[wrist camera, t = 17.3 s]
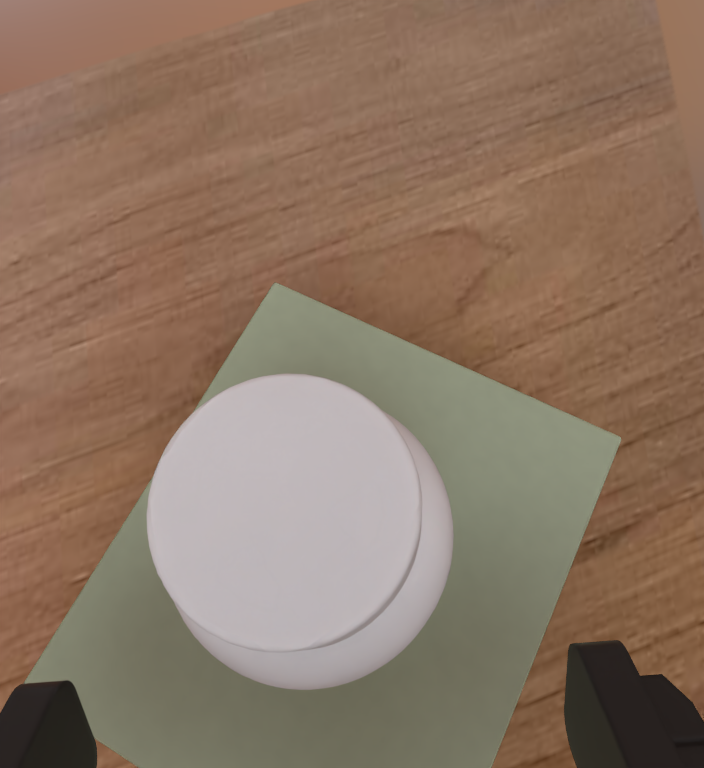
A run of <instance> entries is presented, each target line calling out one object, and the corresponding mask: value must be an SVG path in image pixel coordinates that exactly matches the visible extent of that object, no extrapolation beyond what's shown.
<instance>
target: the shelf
mask: <svg viewBox="0 0 704 768" xmlns="http://www.w3.org/2000/svg"><path fill="white" fill-rule="evenodd" d="M275 374H307V375H313V376H318V377H323V378H327V379H330V380H333V381H336V382H338V383H341V384H343V385H345V386H348V387H350V388H351V389H353V390H355V391H357V392H359V393H361V394H362V395H363V396H365V397H366V398H368V399H369V400H371V401H372V402H373V403H374V404H376V405H377V406H378V407H379V408H380V409H381V410H382V411H384V412H386V413H387V414H389V415H390V416H392V417H393V418H395V419H396V420H397V421H399V422H400V423H401V424H402V425H404V426H405V427H406V428H407V429H408V430H409V431H410V432H411V433H412V434H413V435H414V436H415V437H416V438H417V439H418V441H419V442H420V443H421V444H422V446H423V447H424V448H425V449H426V451H427V452H428V454H429V456H430V457H431V459H432V460H433V462H434V464H435V465H436V467H437V469H438V471H439V473H440V475H441V478H442V480H443V482H444V485H445V488H446V491H447V495H448V498H449V502H450V507H451V513H452V519H453V533H454V537H453V552H452V561H451V567H450V572H449V575H448V578H447V581H446V585H445V588H444V590H443V593H442V595H441V597H440V599H439V602H438V604H437V606H436V608H435V610H434V611H433V613H432V614H431V616H430V618H429V619H428V621H427V622H426V624H425V625H424V627H423V628H422V629H421V631H420V632H419V633H418V635H417V636H416V637H415V638H414V639H413V640H412V642H411V643H410V644H409V645H408V646H407V647H406V648H405V649H404V650H403V651H402V652H401V653H399V654H398V655H397V656H396V657H395V658H393V659H392V660H391V661H389V662H388V663H387V664H385V665H383V666H382V667H380V668H379V669H377V670H375V671H373V672H372V673H370V674H368V675H366V676H364V677H362V678H359V679H357V680H355V681H352V682H349V683H346V684H342V685H339V686H335V687H330V688H323V689H315V690H294V689H283V688H278V687H274V686H269V685H266V684H262V683H259V682H257V681H254V680H252V679H250V678H247V677H245V676H242V675H240V674H239V673H237V672H235V671H233V670H232V669H230V668H229V667H227V666H226V665H225V664H223V663H222V662H220V661H219V660H218V659H216V658H215V657H214V656H213V655H212V654H210V652H209V651H208V650H206V649H205V648H204V647H203V646H202V645H201V643H200V642H199V641H198V640H197V639H196V638H195V637H194V635H193V634H192V632H191V631H190V630H189V628H188V627H187V625H186V624H185V622H184V621H183V619H182V617H181V615H180V613H179V611H178V610H177V608H176V606H175V603H174V601H173V600H172V598H171V597H170V595H169V593H168V592H167V590H166V589H165V587H164V586H163V583H162V580H161V579H160V577H159V576H158V574H157V570H156V567H155V565H154V562H153V559H152V555H151V552H150V548H149V542H148V534H147V516H146V514H147V506H148V496H149V492H150V487H151V483H152V480H153V477H152V479H151V480H150V482H149V484H148V485H147V487H146V488H145V490H144V492H143V493H142V495H141V496H140V498H139V500H138V501H137V503H136V504H135V506H134V508H133V509H132V511H131V512H130V514H129V516H128V517H127V519H126V520H125V522H124V524H123V525H122V527H121V528H120V530H119V532H118V533H117V535H116V536H115V538H114V540H113V541H112V543H111V544H110V546H109V548H108V549H107V551H106V552H105V554H104V556H103V557H102V559H101V560H100V562H99V564H98V565H97V567H96V568H95V570H94V572H93V573H92V575H91V576H90V578H89V580H88V581H87V583H86V584H85V586H84V588H83V589H82V591H81V592H80V594H79V596H78V597H77V599H76V600H75V602H74V604H73V605H72V607H71V608H70V610H69V612H68V613H67V615H66V616H65V618H64V620H63V621H62V623H61V624H60V626H59V628H58V629H57V631H56V632H55V634H54V636H53V637H52V639H51V640H50V642H49V644H48V645H47V647H46V648H45V650H44V652H43V653H42V655H41V656H40V658H39V660H38V661H37V663H36V664H35V666H34V668H33V669H32V671H31V672H30V674H29V676H28V677H27V679H26V680H25V682H24V684H26V683H39V682H52V681H65V680H68V681H71V682H72V683H73V684H74V686H75V688H76V691H77V694H78V696H79V699H80V702H81V704H82V707H83V710H84V712H85V715H86V718H87V720H88V723H89V726H90V728H91V731H92V734H93V736H94V738H95V739H96V740H98V741H99V742H101V743H102V744H104V745H105V746H107V747H108V748H110V749H111V750H113V751H114V752H116V753H117V754H119V755H120V756H122V757H123V758H125V759H127V760H128V761H130V762H131V763H133V764H134V765H136V766H137V767H139V768H491V767H492V765H493V762H494V760H495V757H496V755H497V752H498V750H499V747H500V745H501V742H502V740H503V737H504V735H505V732H506V730H507V727H508V725H509V722H510V720H511V717H512V714H513V712H514V709H515V707H516V704H517V702H518V699H519V697H520V694H521V692H522V689H523V687H524V684H525V682H526V679H527V677H528V674H529V672H530V669H531V666H532V664H533V661H534V659H535V656H536V654H537V651H538V649H539V646H540V644H541V641H542V639H543V636H544V634H545V631H546V629H547V626H548V624H549V621H550V618H551V616H552V613H553V611H554V608H555V606H556V603H557V601H558V598H559V596H560V593H561V591H562V588H563V586H564V583H565V581H566V578H567V576H568V573H569V570H570V568H571V565H572V563H573V560H574V558H575V555H576V553H577V550H578V548H579V545H580V543H581V540H582V538H583V535H584V533H585V530H586V528H587V525H588V523H589V520H590V517H591V515H592V512H593V510H594V507H595V505H596V502H597V500H598V497H599V495H600V492H601V490H602V487H603V485H604V482H605V480H606V477H607V475H608V472H609V469H610V467H611V464H612V462H613V459H614V457H615V454H616V452H617V449H618V447H619V444H620V442H621V437H619V436H617V435H615V434H613V433H610V432H608V431H606V430H604V429H601V428H599V427H597V426H595V425H593V424H590V423H588V422H586V421H584V420H581V419H579V418H577V417H575V416H572V415H570V414H568V413H566V412H564V411H561V410H559V409H557V408H555V407H552V406H550V405H548V404H546V403H544V402H541V401H539V400H537V399H535V398H532V397H530V396H528V395H526V394H523V393H521V392H519V391H517V390H515V389H512V388H510V387H508V386H506V385H503V384H501V383H499V382H497V381H494V380H492V379H490V378H488V377H486V376H483V375H481V374H479V373H477V372H474V371H472V370H470V369H468V368H465V367H463V366H461V365H459V364H457V363H454V362H452V361H450V360H448V359H445V358H443V357H441V356H439V355H436V354H434V353H432V352H430V351H428V350H425V349H423V348H421V347H419V346H416V345H414V344H412V343H410V342H407V341H405V340H403V339H401V338H399V337H396V336H394V335H392V334H390V333H387V332H385V331H383V330H381V329H378V328H376V327H374V326H372V325H370V324H367V323H365V322H363V321H361V320H358V319H356V318H354V317H352V316H350V315H347V314H345V313H343V312H341V311H338V310H336V309H334V308H332V307H329V306H327V305H325V304H323V303H321V302H318V301H316V300H314V299H312V298H309V297H307V296H305V295H303V294H300V293H298V292H296V291H294V290H292V289H289V288H287V287H285V286H283V285H280V284H278V283H274V284H273V285H272V287H271V288H270V290H269V292H268V293H267V295H266V296H265V298H264V300H263V301H262V303H261V304H260V306H259V308H258V309H257V311H256V312H255V314H254V316H253V317H252V319H251V320H250V322H249V324H248V325H247V327H246V328H245V330H244V332H243V333H242V335H241V336H240V338H239V340H238V341H237V343H236V344H235V346H234V348H233V349H232V351H231V352H230V354H229V356H228V357H227V359H226V360H225V362H224V364H223V365H222V367H221V368H220V370H219V372H218V373H217V375H216V376H215V378H214V380H213V381H212V383H211V384H210V386H209V388H208V389H207V391H206V392H205V394H204V396H203V397H202V399H201V400H200V402H199V404H198V405H197V407H196V408H195V410H196V409H198V408H199V407H200V406H202V405H203V404H204V403H205V402H207V401H208V400H210V399H211V398H212V397H214V396H215V395H217V394H219V393H220V392H222V391H224V390H226V389H228V388H230V387H232V386H235V385H237V384H240V383H242V382H245V381H247V380H250V379H253V378H258V377H262V376H268V375H275ZM195 410H194V411H195Z"/></svg>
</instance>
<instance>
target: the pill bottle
mask: <svg viewBox="0 0 704 768" xmlns="http://www.w3.org/2000/svg"><path fill="white" fill-rule="evenodd" d="M146 516H147V534H148V542H149V548H150V552H151V555H152V559H153V562H154V565H155V567H156V570H157V574H158V576H159V577H160V579H161V580H162V583H163V586H164V587H165V589H166V590H167V592H168V593H169V595H170V597H171V598H172V600H173V601H174V603H175V606H176V608H177V610H178V611H179V613H180V615H181V617H182V619H183V621H184V622H185V624H186V625H187V627H188V628H189V630H190V631H191V632H192V634H193V635H194V637H195V638H196V639H197V640H198V641H199V642H200V643H201V645H202V646H203V647H204V648H205V649H206V650H208V651H209V652H210V654H212V655H213V656H214V657H215V658H216V659H218V660H219V661H220V662H222V663H223V664H225V665H226V666H227V667H229V668H230V669H232V670H233V671H235V672H237V673H239V674H240V675H242V676H245V677H247V678H250V679H252V680H254V681H257V682H259V683H262V684H266V685H269V686H274V687H278V688H283V689H294V690H315V689H323V688H330V687H335V686H339V685H342V684H346V683H349V682H352V681H355V680H357V679H359V678H362V677H364V676H366V675H368V674H370V673H372V672H373V671H375V670H377V669H379V668H380V667H382V666H383V665H385V664H387V663H388V662H389V661H391V660H392V659H393V658H395V657H396V656H397V655H398V654H399V653H401V652H402V651H403V650H404V649H405V648H406V647H407V646H408V645H409V644H410V643H411V642H412V640H413V639H414V638H415V637H416V636H417V635H418V633H419V632H420V631H421V629H422V628H423V627H424V625H425V624H426V622H427V621H428V619H429V618H430V616H431V614H432V613H433V611H434V610H435V608H436V606H437V604H438V602H439V599H440V597H441V595H442V593H443V590H444V588H445V585H446V581H447V578H448V575H449V572H450V567H451V561H452V552H453V537H454V533H453V519H452V513H451V507H450V502H449V498H448V495H447V491H446V488H445V485H444V482H443V480H442V478H441V475H440V473H439V471H438V469H437V467H436V465H435V464H434V462H433V460H432V459H431V457H430V456H429V454H428V452H427V451H426V449H425V448H424V447H423V446H422V444H421V443H420V442H419V441H418V439H417V438H416V437H415V436H414V435H413V434H412V433H411V432H410V431H409V430H408V429H407V428H406V427H405V426H404V425H402V424H401V423H400V422H399V421H397V420H396V419H395V418H393V417H392V416H390V415H389V414H387V413H386V412H384V411H382V410H381V409H380V408H379V407H378V406H377V405H376V404H374V403H373V402H372V401H371V400H369V399H368V398H366V397H365V396H363V395H362V394H361V393H359V392H357V391H355V390H353V389H351V388H350V387H348V386H345V385H343V384H341V383H338V382H336V381H333V380H330V379H327V378H323V377H318V376H313V375H307V374H275V375H268V376H262V377H258V378H253V379H250V380H247V381H245V382H242V383H240V384H237V385H235V386H232V387H230V388H228V389H226V390H224V391H222V392H220V393H219V394H217V395H215V396H214V397H212V398H211V399H210V400H208V401H207V402H205V403H204V404H203V405H202V406H200V407H199V408H198V409H196V410H195V411H194V412H193V413H192V414H191V415H190V416H189V417H188V418H187V419H186V420H185V422H184V423H183V424H182V425H181V426H180V427H179V429H178V430H177V431H176V433H175V434H174V436H173V437H172V438H171V440H170V441H169V443H168V445H167V446H166V448H165V450H164V452H163V454H162V456H161V458H160V460H159V463H158V465H157V468H156V470H155V473H154V476H153V480H152V483H151V487H150V492H149V496H148V506H147V514H146Z"/></svg>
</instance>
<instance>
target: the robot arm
mask: <svg viewBox="0 0 704 768" xmlns="http://www.w3.org/2000/svg"><path fill="white" fill-rule="evenodd" d="M564 716H565V725H566V731H567V736H568V741H569V745H570V748H571V752H572V755H573V758H574V760H575V763H576V766H577V768H704V722H703V720H702V718H701V717H700V715H699V713H698V711H697V710H696V708H695V706H694V704H693V703H692V702H691V701H690V700H689V699H688V698H687V697H686V696H685V695H684V694H683V693H682V692H681V691H679V690H678V689H677V688H676V687H675V686H674V685H673V684H672V683H671V682H670V681H669V680H668V679H667V678H665V677H664V676H663V675H662V674H659V675H645V676H640V675H639V673H638V671H637V669H636V667H635V665H634V663H633V661H632V659H631V657H630V655H629V654H628V652H627V650H626V648H625V646H624V645H623V644H622V643H621V642H620V641H618V640H613V641H600V642H587V643H574V644H570V646H569V650H568V662H567V676H566V690H565V705H564ZM96 766H97V747H96V742H95V739H94V736H93V734H92V731H91V728H90V726H89V723H88V720H87V718H86V715H85V712H84V710H83V707H82V704H81V702H80V699H79V696H78V694H77V691H76V688H75V686H74V684H73V683H72V682H71V681H68V680H65V681H52V682H39V683H26V684H21V685H19V686H18V687H16V688H15V689H14V691H13V692H12V693H11V695H10V697H9V698H8V700H7V702H6V704H5V706H4V708H3V709H2V711H1V713H0V768H96Z"/></svg>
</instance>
